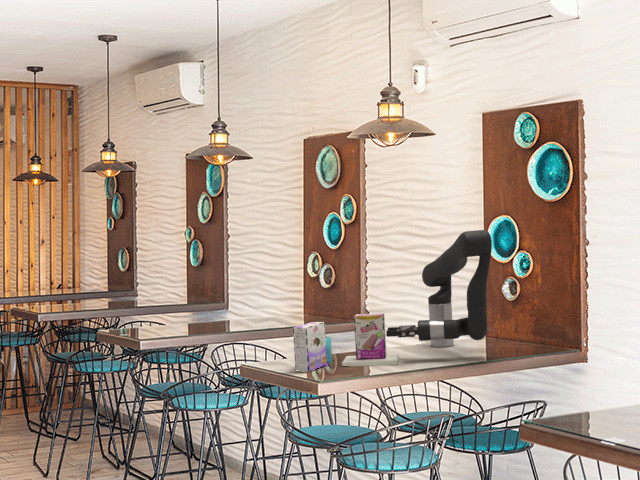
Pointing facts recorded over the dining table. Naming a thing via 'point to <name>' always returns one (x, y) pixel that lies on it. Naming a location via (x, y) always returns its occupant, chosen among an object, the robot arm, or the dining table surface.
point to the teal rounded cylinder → (329, 349)
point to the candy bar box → (370, 336)
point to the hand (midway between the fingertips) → (387, 332)
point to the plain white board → (371, 361)
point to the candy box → (310, 346)
